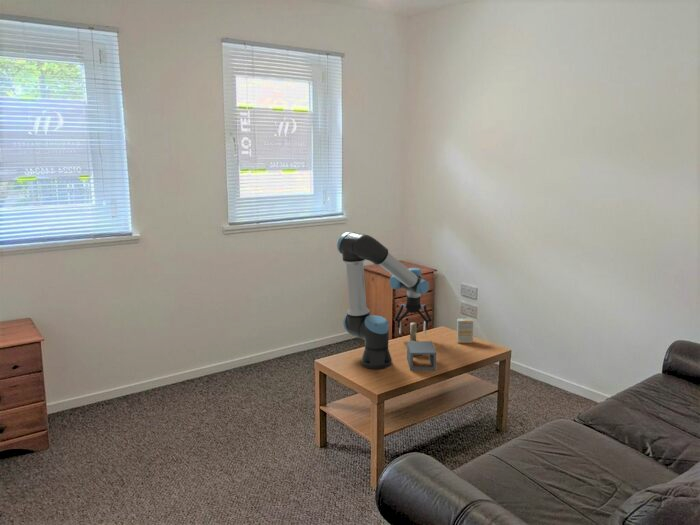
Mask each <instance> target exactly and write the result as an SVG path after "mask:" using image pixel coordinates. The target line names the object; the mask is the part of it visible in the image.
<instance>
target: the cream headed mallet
mask: <svg viewBox="0 0 700 525" xmlns="http://www.w3.org/2000/svg"><path fill="white" fill-rule="evenodd" d="M409 327H410V328H409V329H410V330H409V331H410V332H409V334H410V336H409V338H410V339H409V341H417V327H418V326H417V322H410V324H409ZM413 357H424V355H413Z"/></svg>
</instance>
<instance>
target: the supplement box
mask: <svg viewBox="0 0 700 525" xmlns="http://www.w3.org/2000/svg"><path fill="white" fill-rule="evenodd" d="M456 323H457V324H456V342H457V344H473V343H474V342H473V341H474V340H473V339H474V338H473V335H474V320H473V318H467V317H466V318H461V317H460V318H459V317H458V318H457V321H456Z"/></svg>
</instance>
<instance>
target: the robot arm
mask: <svg viewBox="0 0 700 525" xmlns="http://www.w3.org/2000/svg"><path fill="white" fill-rule="evenodd" d="M336 247H337V251H338V252H339V253H340V254H341V255H342V261H343V262H344V263H345V266H346V279H347V292H348V306H349V308H348V309H347V311H346V314H345V316H344V318H343V322H342V323H343V328H344V330H345V331H346V332H347V333H348V334H349V335H351V336H353V337H356V338H359V339H361V340H363V341H364V350H363V353H362V356H361V358H360V359H361V365H362V367H365V369H370V370H383V369H388V368H389V367H392V364H393V359H392V356H391V352H390V350H389V340H390V339H389V332H390V329H389V328H390V326H389V321H388V320H387V318H385V317H384V316H381V315H374V314H371V312H370V309H369V308H368V307H367V298H366V297H367V295H366V283H365V268H364V262H365V261H368V262H371V263H373V264H374V265H376V266H378V265H379V266H380V267H381V268H382V269H384V270H385V271H386V272H388V273H389V274H390V275H391V276H390V278H389V286H390V287H391V289H393V290H400V289H402V290H404V291H406V304H403V303H401V304H400V308H399V309H398V311H397V313H396V315H395V317H394V322H397V323H396V324H397V328H398V331H399V332H398V333H399V335H401V334H402V320H403V319H404V318H405V317H406V316H407V315H408V314H409V313H410V314H413V313H414V314H417V313H418V314H419V316H420V317H421V318H422V320H424V321H423V335H426V333H427V332H426V331H427V329H428V327H429V322H432V319H431V316H430V314H429V313H428V311H427V306H426V304H425V303H424V304H421V295H425V294H426V293H428V291H429V289H430V283H429V281H427V280H425V279H424V278H423V277H422V269H420V268H418V267H409V268H408V267H407V266H406V265H404V264H403V263H402V262H400V260H398V259H397V258H396V257H394V256H393V255H392V254H391V253H390V251H389V249H388V248H387V247H386V245H383V244H382V243H381V242H380V241H378V239H375V238H374V237H373V236H371V235H368V234H364V233H358V232H356V231H355V232H354V231H347V232H344V233H343V234H341V236H340V237H339V238H338V241H337V245H336ZM405 308H406V309H405ZM404 309H405V310H404ZM421 309H422V310H423V311H424V313H425V315H426V316H425V315H424V314H423V313H422V312H421ZM403 310H404V312H402V311H403ZM426 317H427V318H426Z"/></svg>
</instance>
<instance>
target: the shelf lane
mask: <svg viewBox="0 0 700 525" xmlns="http://www.w3.org/2000/svg"><path fill="white" fill-rule="evenodd" d="M413 355H423V356H424V355H425V356H428V360H429V362H430V366H414V356H413ZM406 360H407V363H408V368H409V370H410V371H411V372H413V371H437V351H436V347H435V345H434V344H433V342H432V341H431V340H430V341H429V340H425V341H423V340H418V341H417V340H416V341H410V340H407V341H406Z"/></svg>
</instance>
